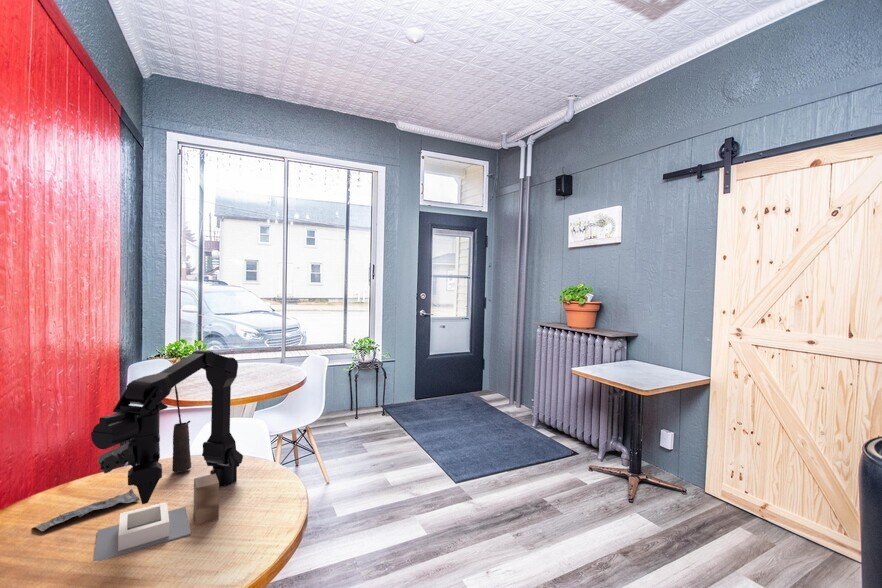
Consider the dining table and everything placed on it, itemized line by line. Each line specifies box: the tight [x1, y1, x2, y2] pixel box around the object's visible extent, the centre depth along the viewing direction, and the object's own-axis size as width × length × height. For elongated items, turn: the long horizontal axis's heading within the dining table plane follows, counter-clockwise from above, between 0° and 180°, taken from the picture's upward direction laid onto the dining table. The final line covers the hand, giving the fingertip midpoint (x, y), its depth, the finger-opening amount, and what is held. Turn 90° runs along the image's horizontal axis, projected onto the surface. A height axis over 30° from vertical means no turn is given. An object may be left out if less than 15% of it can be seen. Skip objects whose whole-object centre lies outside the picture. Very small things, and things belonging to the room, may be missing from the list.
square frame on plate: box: [92, 501, 192, 562], centre depth 97 cm, size 18×14×4 cm
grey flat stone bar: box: [33, 488, 141, 532], centre depth 105 cm, size 21×7×2 cm, turn 144°
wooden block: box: [193, 473, 220, 526], centre depth 105 cm, size 5×6×10 cm
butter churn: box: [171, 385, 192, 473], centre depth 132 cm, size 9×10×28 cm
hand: (144, 496), depth 97 cm, fingers open, 7 cm apart
